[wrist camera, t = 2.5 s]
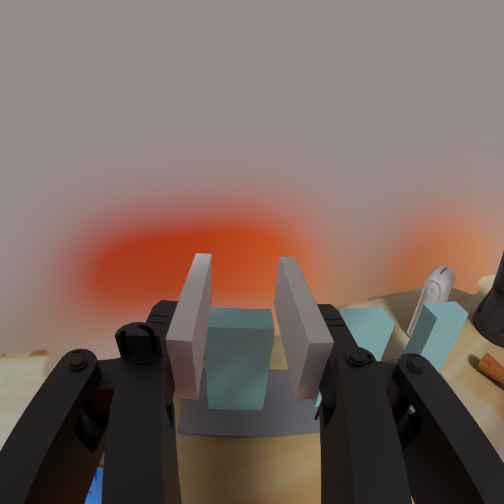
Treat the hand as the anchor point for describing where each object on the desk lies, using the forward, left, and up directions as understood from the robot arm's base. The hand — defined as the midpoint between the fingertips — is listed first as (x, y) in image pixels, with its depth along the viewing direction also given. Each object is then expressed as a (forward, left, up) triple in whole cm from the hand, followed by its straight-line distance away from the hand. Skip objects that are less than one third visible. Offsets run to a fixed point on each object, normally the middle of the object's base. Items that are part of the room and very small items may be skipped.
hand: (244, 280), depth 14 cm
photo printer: (-34, -20, -20) cm, 44 cm away
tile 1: (-24, -8, -20) cm, 32 cm away
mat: (-12, -8, -20) cm, 25 cm away
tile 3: (0, -8, -20) cm, 21 cm away
